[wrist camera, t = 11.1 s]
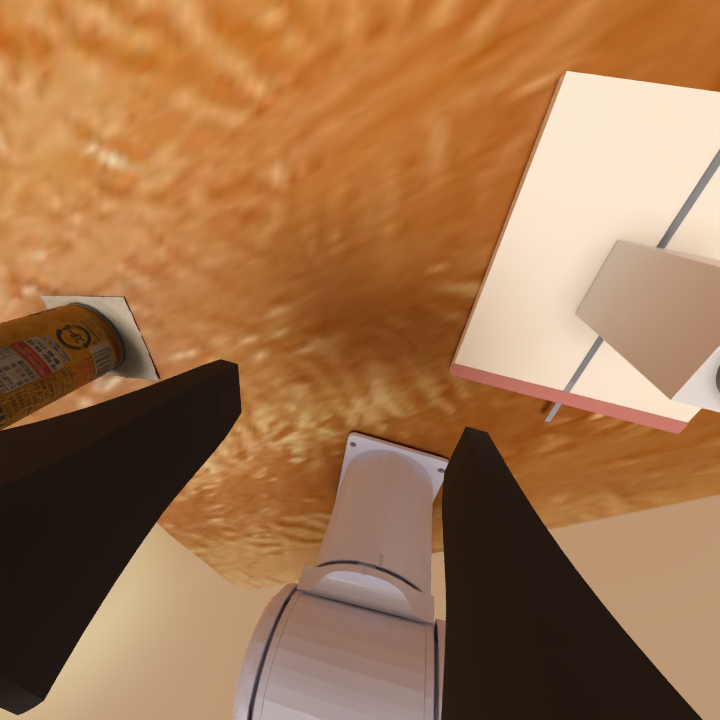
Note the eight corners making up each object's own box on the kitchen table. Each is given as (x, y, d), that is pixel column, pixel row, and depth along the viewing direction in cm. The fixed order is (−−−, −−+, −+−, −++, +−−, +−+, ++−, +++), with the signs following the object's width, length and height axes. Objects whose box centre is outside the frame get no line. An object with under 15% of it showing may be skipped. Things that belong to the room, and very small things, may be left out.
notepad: (651, 441, 19) (660, 452, 18) (442, 386, 20) (442, 393, 19) (996, 75, 10) (1043, 65, 9) (579, 24, 11) (590, 12, 10)
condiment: (42, 295, 24) (-242, 369, 14) (125, 296, 23) (-133, 383, 12) (86, 371, 28) (-117, 475, 18) (161, 378, 26) (-17, 498, 16)
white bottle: (650, 331, 15) (855, 466, 8) (575, 313, 15) (700, 427, 8) (706, 257, 13) (1048, 342, 6) (618, 239, 13) (832, 297, 6)
